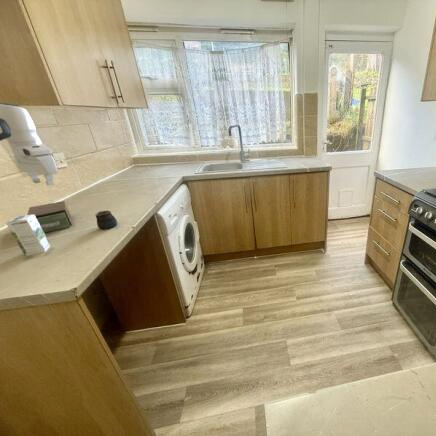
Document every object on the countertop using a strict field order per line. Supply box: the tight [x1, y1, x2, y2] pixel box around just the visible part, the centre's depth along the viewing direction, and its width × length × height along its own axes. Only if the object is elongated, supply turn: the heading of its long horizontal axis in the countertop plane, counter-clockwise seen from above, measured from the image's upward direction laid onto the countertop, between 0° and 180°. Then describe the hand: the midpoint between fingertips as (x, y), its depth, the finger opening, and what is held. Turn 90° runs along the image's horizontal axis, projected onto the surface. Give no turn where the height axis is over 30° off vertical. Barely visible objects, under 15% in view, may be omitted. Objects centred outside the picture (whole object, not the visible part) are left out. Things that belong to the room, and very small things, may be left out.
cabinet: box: [26, 200, 73, 227], centre depth 114 cm, size 17×13×9 cm
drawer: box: [36, 212, 71, 234], centre depth 111 cm, size 20×11×7 cm, turn 42°
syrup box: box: [6, 214, 51, 257], centre depth 90 cm, size 6×6×14 cm
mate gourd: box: [95, 210, 118, 231], centre depth 109 cm, size 7×8×10 cm
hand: (44, 184), depth 100 cm, fingers open, 8 cm apart
